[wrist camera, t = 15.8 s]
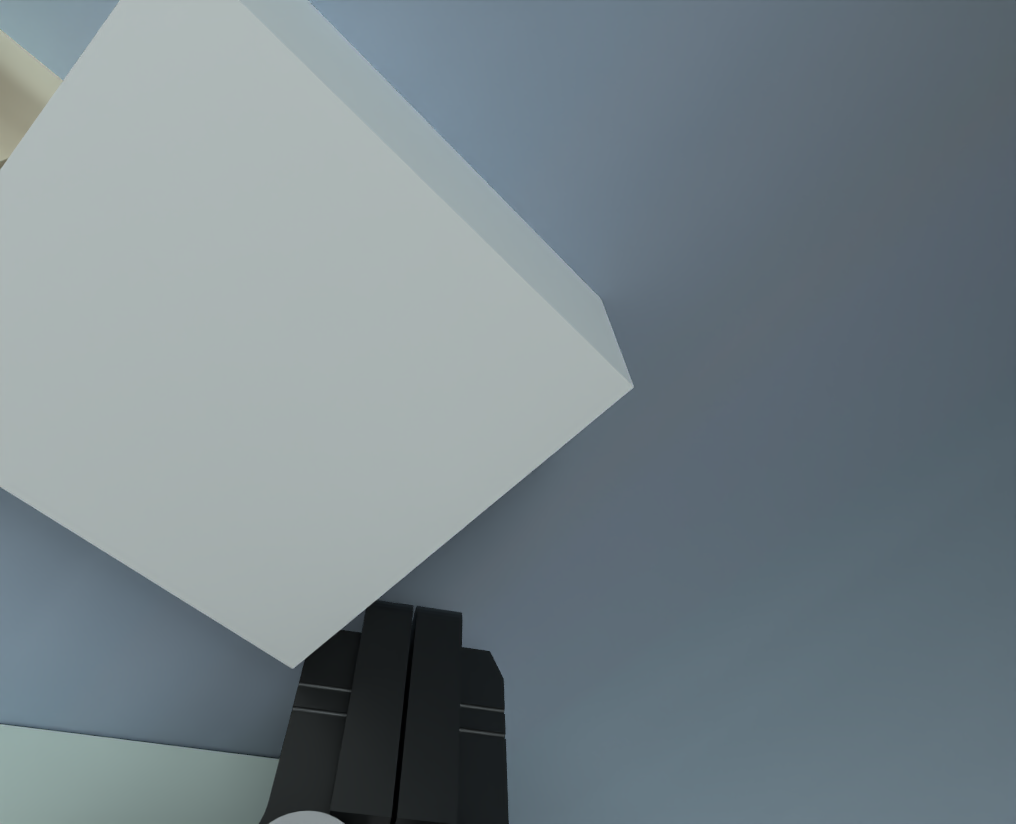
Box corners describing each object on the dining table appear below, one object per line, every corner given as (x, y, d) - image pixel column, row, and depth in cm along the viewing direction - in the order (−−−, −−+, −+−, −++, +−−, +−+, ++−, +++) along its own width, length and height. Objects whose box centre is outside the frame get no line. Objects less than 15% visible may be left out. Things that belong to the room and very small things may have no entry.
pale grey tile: (258, -56, 9) (169, -69, 7) (598, 292, 11) (634, 386, 9) (-5, 292, 11) (-156, 390, 8) (329, 531, 13) (292, 669, 11)
